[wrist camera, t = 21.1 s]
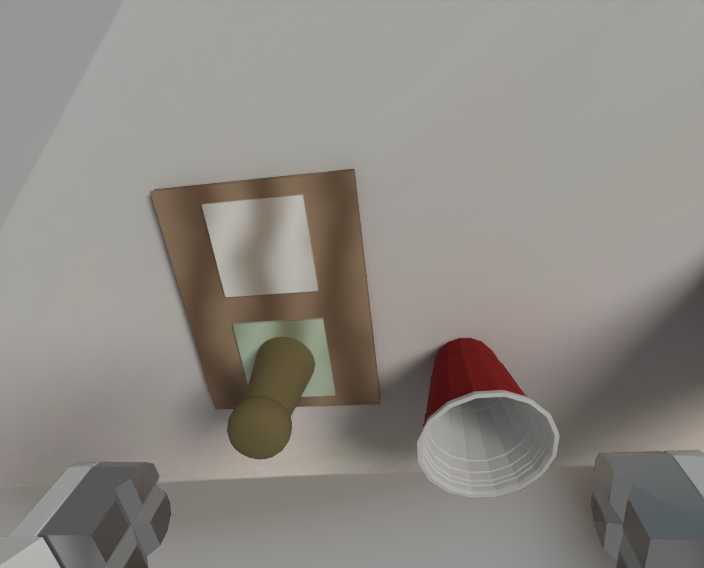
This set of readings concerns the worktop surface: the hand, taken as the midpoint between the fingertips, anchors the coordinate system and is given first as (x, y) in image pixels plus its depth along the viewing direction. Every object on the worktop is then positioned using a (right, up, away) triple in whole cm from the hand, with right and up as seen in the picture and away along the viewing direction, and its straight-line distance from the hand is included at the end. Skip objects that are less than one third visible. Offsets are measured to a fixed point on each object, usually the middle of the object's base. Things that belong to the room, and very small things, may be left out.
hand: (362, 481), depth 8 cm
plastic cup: (+11, -4, +37) cm, 39 cm away
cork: (-7, -4, +37) cm, 38 cm away
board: (-7, +2, +36) cm, 37 cm away
